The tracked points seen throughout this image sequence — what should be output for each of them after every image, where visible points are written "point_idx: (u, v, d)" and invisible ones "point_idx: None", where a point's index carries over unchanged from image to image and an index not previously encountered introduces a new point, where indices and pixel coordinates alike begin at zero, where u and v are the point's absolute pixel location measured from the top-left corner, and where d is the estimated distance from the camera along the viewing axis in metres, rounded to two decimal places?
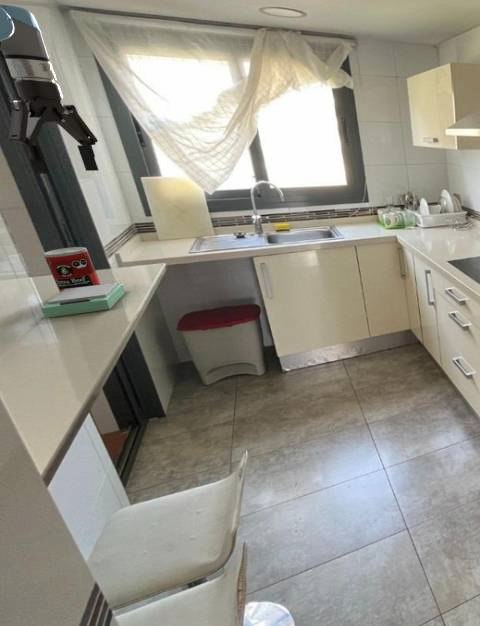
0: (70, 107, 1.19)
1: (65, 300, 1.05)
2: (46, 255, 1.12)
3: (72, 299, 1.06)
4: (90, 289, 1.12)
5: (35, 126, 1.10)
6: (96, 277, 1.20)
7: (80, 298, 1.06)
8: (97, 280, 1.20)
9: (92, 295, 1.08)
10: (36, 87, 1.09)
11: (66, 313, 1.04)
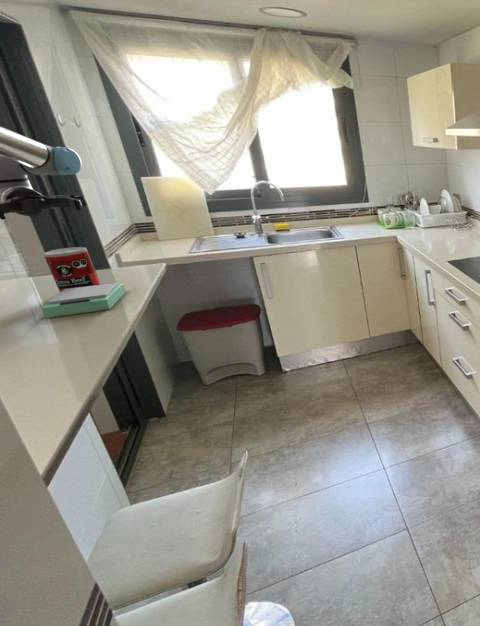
0: None
1: (65, 300, 1.05)
2: (46, 255, 1.12)
3: (72, 299, 1.06)
4: (90, 289, 1.12)
5: None
6: (96, 277, 1.20)
7: (80, 298, 1.06)
8: (97, 280, 1.20)
9: (92, 295, 1.08)
10: None
11: (66, 313, 1.04)
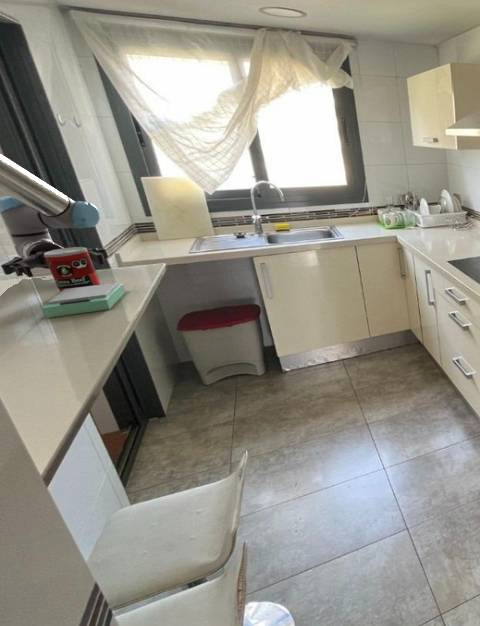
0: None
1: (65, 300, 1.05)
2: (46, 255, 1.12)
3: (72, 299, 1.06)
4: (90, 289, 1.12)
5: None
6: (96, 277, 1.20)
7: (80, 298, 1.06)
8: (97, 280, 1.20)
9: (92, 295, 1.08)
10: None
11: (66, 313, 1.04)
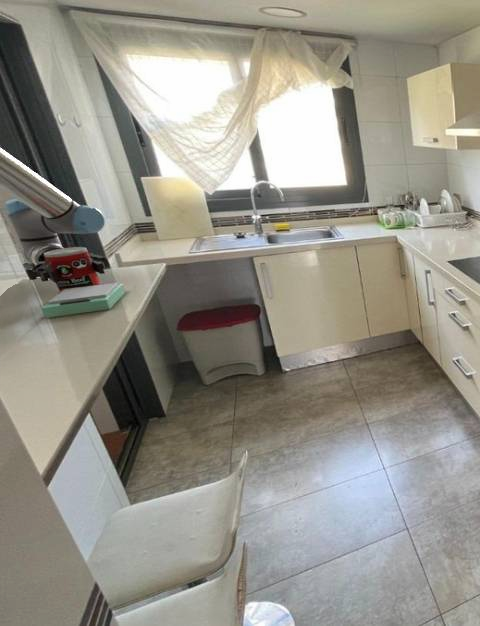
0: None
1: (65, 300, 1.05)
2: (46, 255, 1.12)
3: (72, 299, 1.06)
4: (90, 289, 1.12)
5: None
6: (96, 277, 1.20)
7: (80, 298, 1.06)
8: (97, 280, 1.20)
9: (92, 295, 1.08)
10: None
11: (66, 313, 1.04)
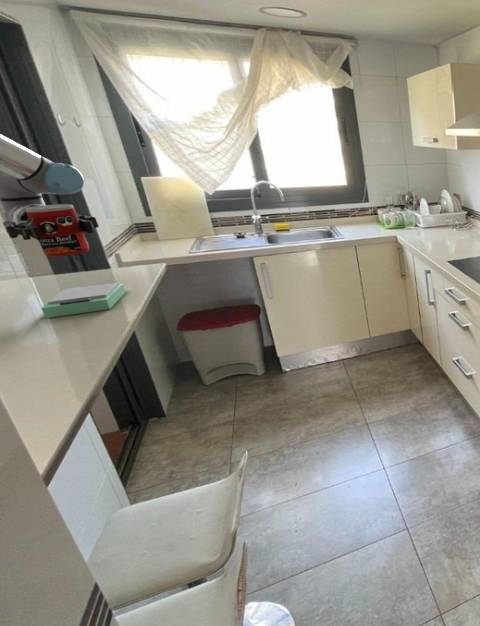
0: None
1: (65, 300, 1.05)
2: (28, 210, 1.02)
3: (72, 299, 1.06)
4: (90, 289, 1.12)
5: None
6: (84, 237, 1.10)
7: (80, 298, 1.06)
8: (85, 240, 1.10)
9: (92, 295, 1.08)
10: None
11: (66, 313, 1.04)
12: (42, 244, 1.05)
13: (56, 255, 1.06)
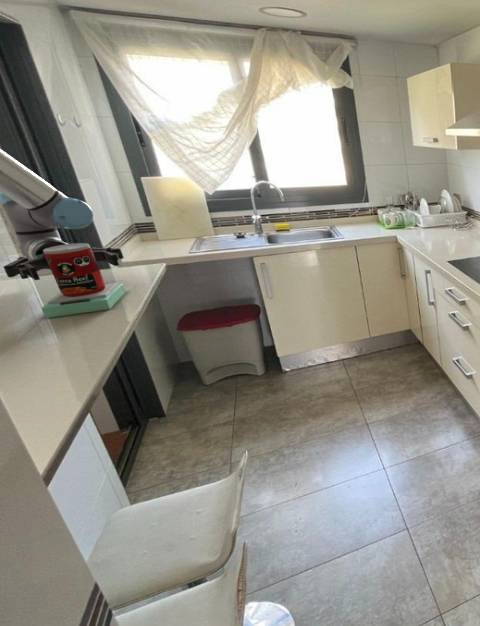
0: None
1: (65, 300, 1.05)
2: (46, 252, 1.03)
3: (72, 299, 1.06)
4: None
5: None
6: (100, 276, 1.11)
7: (80, 298, 1.06)
8: (101, 279, 1.11)
9: (92, 295, 1.08)
10: None
11: (66, 313, 1.04)
12: (59, 284, 1.06)
13: (73, 295, 1.07)
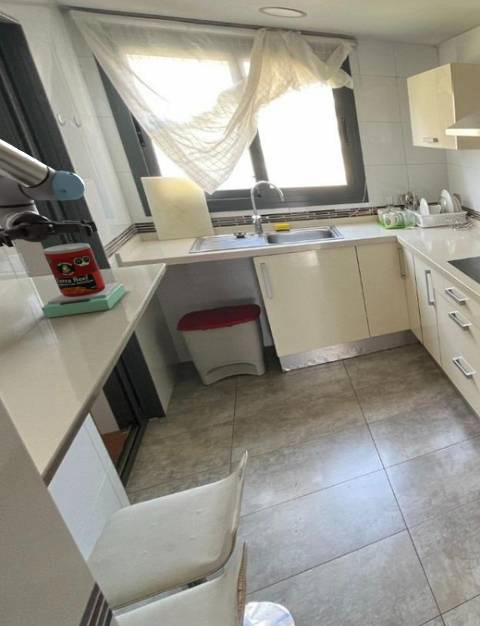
0: None
1: (65, 300, 1.05)
2: (46, 252, 1.03)
3: (72, 299, 1.06)
4: None
5: None
6: (100, 276, 1.11)
7: (80, 298, 1.06)
8: (101, 279, 1.11)
9: (92, 295, 1.08)
10: None
11: (66, 313, 1.04)
12: (59, 284, 1.06)
13: (73, 295, 1.07)
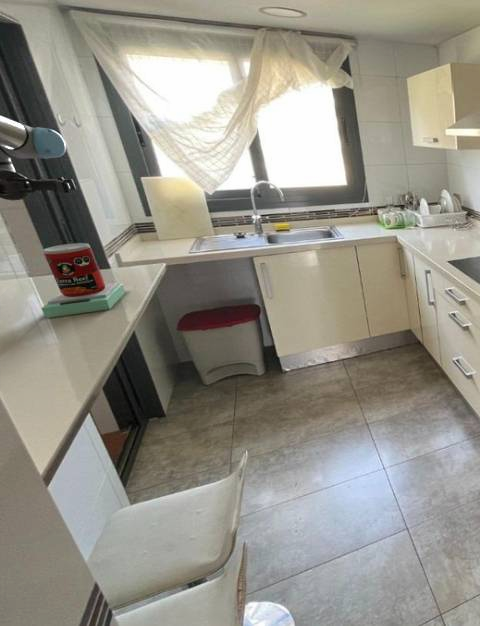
0: None
1: (65, 300, 1.05)
2: (46, 252, 1.03)
3: (72, 299, 1.06)
4: None
5: None
6: (100, 276, 1.11)
7: (80, 298, 1.06)
8: (101, 279, 1.11)
9: (92, 295, 1.08)
10: None
11: (66, 313, 1.04)
12: (59, 284, 1.06)
13: (73, 295, 1.07)
